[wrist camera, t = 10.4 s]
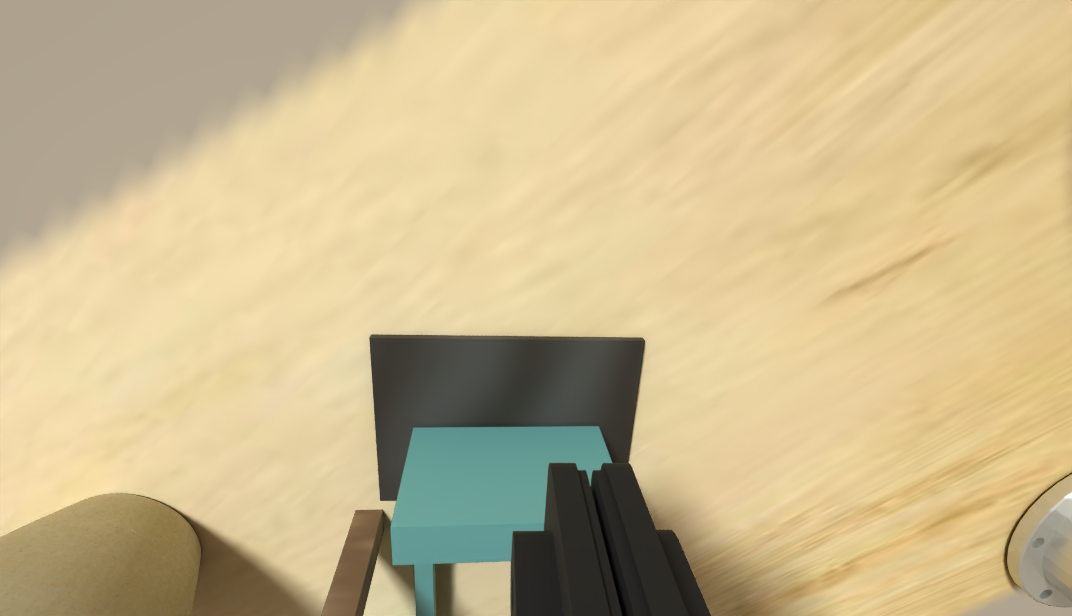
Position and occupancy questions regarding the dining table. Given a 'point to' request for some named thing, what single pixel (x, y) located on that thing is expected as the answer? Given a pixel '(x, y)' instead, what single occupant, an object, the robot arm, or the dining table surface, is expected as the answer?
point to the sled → (478, 493)
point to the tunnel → (481, 411)
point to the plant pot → (101, 561)
